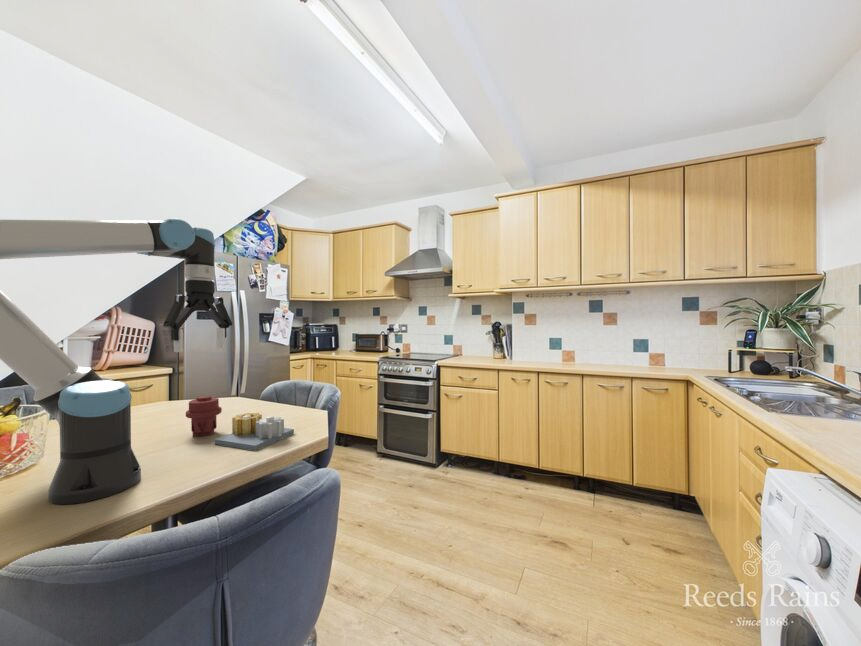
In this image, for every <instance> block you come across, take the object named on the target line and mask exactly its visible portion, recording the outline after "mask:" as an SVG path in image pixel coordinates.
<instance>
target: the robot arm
mask: <svg viewBox="0 0 861 646" xmlns="http://www.w3.org/2000/svg"><path fill="white" fill-rule="evenodd" d="M215 247H216V245H215V236H214V233H213V231H211V230H210V229H207V228H203V227H196V226H195V227H194V226H192V225H191V224H189V223H188V222H187V221H185V220H183V219H181V218H167V219H165V220H148V221H147V220H96V219H95V220H93V219H91V220H89V219H88V220H87V219H85V220H82V219H81V220H79V219H78V220H76V219H73V220H71V219H69V220H68V219H61V220H59V219H0V260H6V259H7V260H12V259H13V260H15V259H31V258H34V259H35V258H54V257H72V256H73V257H74V256H92V255H94V256H95V255H97V256H98V255H114V254H132V253H133V254H135V253H136V254H137V255H144V256H148V257H152V256H153V257H162V258H170V259H171V258H172V259H180V260H182V259H183V260H184V278H185V279H186V280H185V281H184V287H185V288H184V289H185V290H184V291H185V292H186V295H185V294H176V295H175V296H174V302H173V304H172V306H171V308H170V310H169V312H168V313H167V315H166V318H165V320H164V321H163V323H162V325H163V328H167V329H169V330H170V339H171V341H172V342H173V352H174V353H184V330H183V329H180V328H181V327H183V325H184V324H185V323H186V322H187V320H188V318H190V316H191V315H192V314H193V313H194V312H196V311H197V312H206V313H207V314H208V315H209V316H210V318H211V319H212V320H213V321H214V323H216V326H218V327H216V349H226V338H227V335H228V334H227V329H228V328H230V327H231V326H232V325H233V322H232V319H231V317H230V315H229V313H228V311H227V309H226V306H225V304H224V303H225V302H224V298H223V297H222V296H220V297H219V296H217V297H214V294H215V293H216V286H215V285H216V283H215V281H214V280H215V276H216V275H215V271H216V270H215ZM185 303H186V305H185ZM184 305H185V307H184ZM182 309H183V310H182ZM36 324H37V323H35V322H34V321H33V320H32V319H31V318H29V316H27V315H26V314H25V312H23V310H21V309H20V308H19V307H18V305H16V304H15V303H14V302H13V300H11V299H10V298H9V297H8V296H7V295H6V294H5V293H4V292H3V291H2V290H1V289H0V361H2V362H3V363H4V364H5V366H7V367H8V368H9V369H10V370H12V371H13V372H14V373H15V374H16V375H17V376H19V378H20V379H22V380H23V381H24V382H25V383H27V384H28V385H29V386H30V387H31V388H32V389H34V395H33V401H34V402H35V403H36V404H37V405H38V406H40V407H41V408H42V410H44V411H45V412H47V413H48V414H49V415H50V416H51V417H52V418H53V419H55V420H56V421H57V422H58V425H59V453H60V455H59V456H60V457H59V463H58V466H57V468H56V470H55V473H54V476H53V478H52V480H51V483H50V485H49V488H48V501H49V502H50V503H51V504H55V505H73V504H74V505H75V504H79V503H80V504H81V503H86V502H91V501H95V500H99V499H103V498H107V497H110V496H112V495H116V494H119V493H121V492H123V491H125V490H127V489H130V488H131V487H133V486H134V485H136V484H137V483H138V482H140V480H142V479H141V478H142V468H141V466H140V463H139V461H138V459H137V457H136V454H135V453H134V451H133V449H132V428H131V427H132V422H131V421H132V420H131V419H132V418H131V412H132V411H131V403H132V398H133V397H132V393H131V388H130V385H128V384H127V383H125V382H123V381H119V380H117V381H116V380H111V379H109V380H104V379H103V378H102V377H101V376H99V375H98V373H97V372H96V371H94V369H92V367H88V366H87V367H86V366H79V365H77V364H76V363H75V361H74V360H73V359H71V358H70V357H69V356H68V354H66V353H65V352H64V351H63V350H62V348H60V347H59V346H58V345H57V344H56V343H55V342H54V341H53V340H52V339H51V338H50V337H49V336H48V335H47V334H46V333H45V332H44V331H43V330H42V329H41V328H40V327H39V326H38V325H36Z"/></svg>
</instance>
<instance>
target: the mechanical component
mask: <svg viewBox="0 0 861 646" xmlns="http://www.w3.org/2000/svg"><path fill="white" fill-rule="evenodd" d="M219 404H220V401H219V398H218V397H212V396H210V395H202V396H197V398H194V399H192V400H190V401H189V402H188V410H186V411H185V417H186V418H188V419H191V424H190V425H191V426H190V427H191V428H190V429H191V432H192V437H193V436H196V437H201V436H200V435H202V436H212V435H211V434H213V435H214V434H215V430H216V429H217V424H218V423H217V416H218V415H221V413H222V411H223V410H222V409H223V408H222V407H221V406H219Z"/></svg>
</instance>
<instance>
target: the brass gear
mask: <svg viewBox="0 0 861 646" xmlns="http://www.w3.org/2000/svg"><path fill="white" fill-rule="evenodd" d="M246 415H251V417H250V418H243V416H246ZM260 419H263V414H260V412H253V413H252V412H246V413H242V414H236V415H235V416H233V417H232V418H231V422H232V425H231V427H232V431H231V432H232V434H234V433H235V435H236V436H238V435H245V436H246V435H249V434H254V433H256V422H258V421H259V420H260Z"/></svg>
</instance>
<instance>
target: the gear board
mask: <svg viewBox="0 0 861 646" xmlns="http://www.w3.org/2000/svg"><path fill="white" fill-rule="evenodd" d="M250 417H251V415H246V416H243V418H250ZM293 433H294V434H295V429H294V428H286V427H285V418H281V417H280V416H276V417H275V416H273V415H271V416H266V417H265V418H262V419H260V420H259V421H258V422H256V433H254V434H249V435H246V436H245V435H238V436H236V435H235V433H234V434H232V433H228V434H225V435H223V436H219V437H217V438H214V445H216V444H218V445H217V446H222V445H224V447H228V446H230V448H235V447H236V448H237V449H242V450H249V451H255V452H256V451H258V450H260V449H262V447H263V448H265V447H267V446H269V445H271V443H272V444H274V443H276V442H278V441H280V439H281V440H283V439H285V438H287V437H290V436H292V435H294V434H293ZM291 434H292V435H291ZM289 435H290V436H289ZM282 438H283V439H282ZM277 440H278V441H277ZM275 441H276V442H275ZM273 442H274V443H273ZM236 448H235V449H236Z"/></svg>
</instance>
